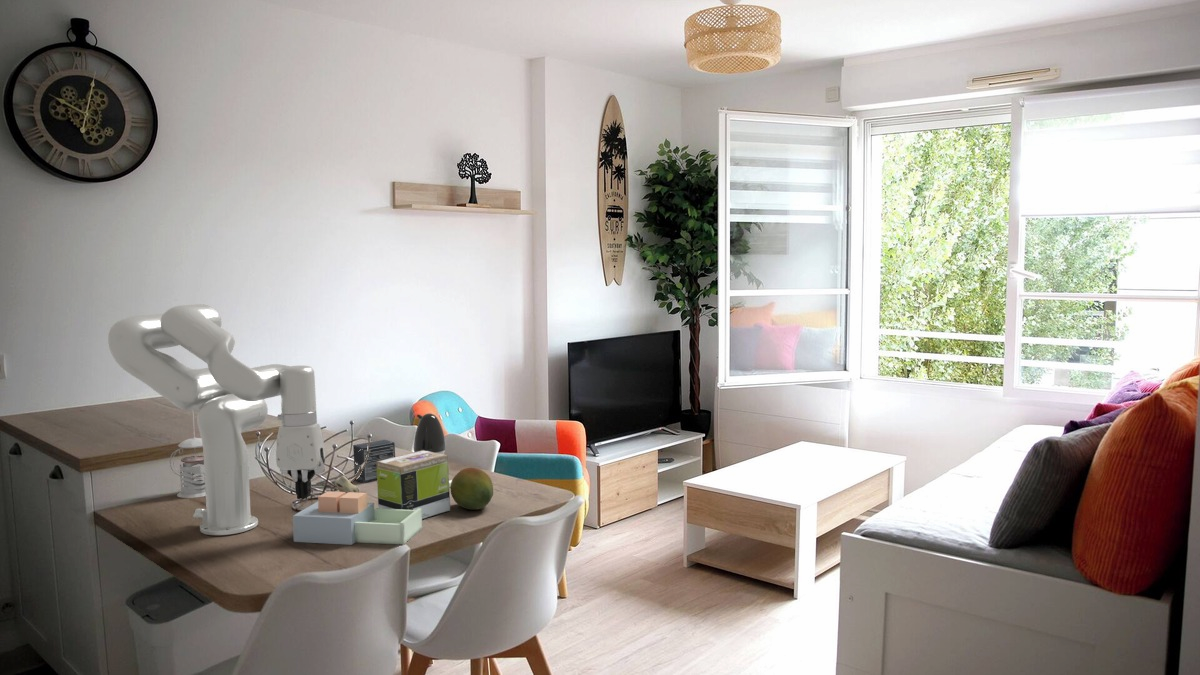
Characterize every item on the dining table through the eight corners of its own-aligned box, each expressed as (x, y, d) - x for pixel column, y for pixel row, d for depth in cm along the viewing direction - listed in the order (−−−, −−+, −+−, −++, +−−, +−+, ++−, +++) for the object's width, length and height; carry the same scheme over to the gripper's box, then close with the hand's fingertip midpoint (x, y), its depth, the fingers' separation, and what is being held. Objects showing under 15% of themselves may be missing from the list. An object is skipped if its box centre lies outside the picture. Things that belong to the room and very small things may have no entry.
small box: (386, 472, 244) (385, 438, 243) (397, 477, 240) (396, 442, 239) (353, 479, 237) (352, 444, 236) (363, 483, 232) (362, 447, 231)
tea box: (425, 504, 212) (424, 448, 211) (451, 511, 206) (449, 454, 204) (377, 518, 200) (375, 459, 199) (402, 526, 194) (400, 465, 193)
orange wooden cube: (318, 511, 186) (318, 496, 186) (328, 505, 190) (327, 491, 190) (336, 512, 185) (336, 497, 185) (346, 506, 190) (345, 492, 189)
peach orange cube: (339, 512, 185) (339, 497, 185) (348, 506, 189) (348, 492, 189) (358, 513, 184) (357, 498, 184) (367, 507, 189) (366, 492, 188)
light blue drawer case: (293, 541, 183) (292, 515, 183) (320, 524, 195) (319, 500, 195) (351, 544, 181) (351, 518, 181) (374, 527, 193) (374, 503, 192)
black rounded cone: (430, 455, 267) (429, 409, 266) (452, 459, 261) (451, 412, 260) (406, 461, 259) (405, 414, 257) (429, 465, 253) (428, 417, 251)
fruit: (478, 498, 217) (477, 461, 216) (507, 508, 208) (507, 469, 207) (441, 507, 209) (440, 469, 208) (470, 518, 200) (469, 478, 199)
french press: (205, 497, 218) (201, 406, 216) (163, 497, 219) (158, 406, 216) (223, 488, 228) (219, 400, 226) (182, 487, 229) (178, 400, 226)
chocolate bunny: (350, 518, 200) (349, 479, 199) (323, 516, 202) (321, 476, 201) (363, 512, 205) (362, 473, 204) (336, 509, 208) (335, 471, 207)
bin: (355, 542, 183) (354, 520, 182) (376, 526, 194) (375, 506, 193) (403, 544, 181) (403, 522, 181) (422, 528, 192) (421, 508, 191)
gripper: (260, 422, 185) (265, 501, 186) (321, 422, 182) (325, 502, 184) (278, 416, 192) (282, 492, 193) (337, 416, 190) (341, 493, 191)
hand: (303, 497), depth 189 cm, fingers closed
